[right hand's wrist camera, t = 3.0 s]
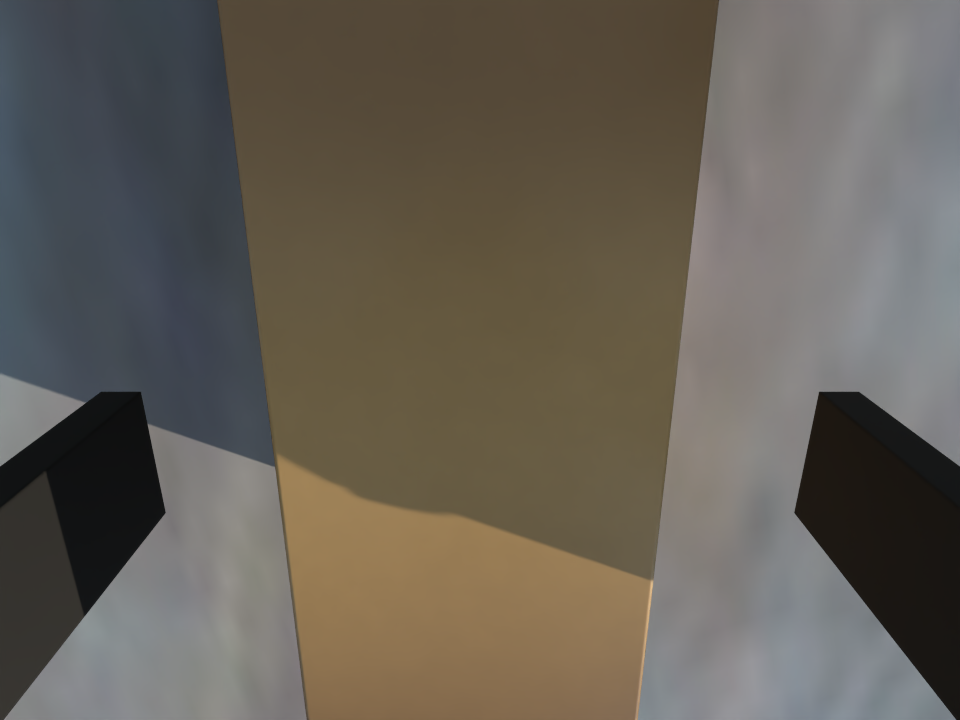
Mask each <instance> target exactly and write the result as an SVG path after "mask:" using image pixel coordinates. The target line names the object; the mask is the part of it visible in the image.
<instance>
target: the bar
mask: <svg viewBox="0 0 960 720" xmlns="http://www.w3.org/2000/svg"><path fill="white" fill-rule="evenodd" d="M217 4H218V12H219V20H220V28H221V36H222V44H223V52H224V60H225V68H226V76H227V84H228V92H229V100H230V108H231V116H232V124H233V132H234V140H235V148H236V156H237V164H238V172H239V180H240V188H241V196H242V204H243V212H244V220H245V228H246V236H247V244H248V252H249V260H250V268H251V276H252V284H253V292H254V300H255V308H256V317H257V325H258V333H259V341H260V349H261V357H262V365H263V373H264V381H265V389H266V397H267V405H268V413H269V421H270V429H271V437H272V445H273V453H274V461H275V469H276V477H277V485H278V493H279V501H280V509H281V517H282V525H283V533H284V541H285V549H286V557H287V565H288V573H289V581H290V589H291V597H292V605H293V613H294V621H295V629H296V637H297V645H298V653H299V661H300V669H301V677H302V685H303V693H304V701H305V709H306V717H307V720H638V711H639V702H640V693H641V684H642V675H643V667H644V658H645V649H646V640H647V631H648V622H649V614H650V605H651V596H652V587H653V578H654V569H655V561H656V552H657V543H658V534H659V525H660V516H661V508H662V499H663V490H664V481H665V472H666V464H667V455H668V446H669V437H670V428H671V419H672V411H673V402H674V393H675V384H676V375H677V366H678V358H679V349H680V340H681V331H682V322H683V313H684V305H685V296H686V287H687V278H688V269H689V261H690V252H691V243H692V234H693V225H694V216H695V208H696V199H697V190H698V181H699V172H700V163H701V155H702V146H703V137H704V128H705V119H706V110H707V102H708V93H709V84H710V75H711V66H712V57H713V49H714V40H715V31H716V22H717V13H718V5H719V0H217Z"/></svg>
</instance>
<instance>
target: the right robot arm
mask: <svg viewBox="0 0 960 720" xmlns="http://www.w3.org/2000/svg"><path fill="white" fill-rule="evenodd" d="M165 513H166V512H165V507H164V503H163V498H162V493H161V488H160V483H159V478H158V473H157V469H156V464H155V459H154V454H153V449H152V444H151V439H150V435H149V430H148V425H147V420H146V415H145V410H144V405H143V400H142V396H141V392H100V393H99V394H98V395H96V396H95V397H94V398H92V399H91V400H89V401H88V402H87V403H85V404H84V405H83V406H81V407H80V408H79V409H77V410H76V411H75V412H73V413H72V414H71V415H69V416H68V417H67V418H65V419H64V420H62V421H61V422H60V423H58V424H57V425H56V426H54V427H53V428H52V429H50V430H49V431H48V432H46V433H45V434H44V435H42V436H41V437H40V438H38V439H37V440H35V441H34V442H33V443H31V444H30V445H29V446H27V447H26V448H25V449H23V450H22V451H21V452H19V453H18V454H17V455H15V456H14V457H13V458H11V459H10V460H8V461H7V462H6V463H4V464H3V465H2V466H0V720H4V719H5V717H6V716H7V715H8V713H9V712H10V711H11V710H12V708H13V707H14V706H15V705H16V703H17V702H18V701H19V699H20V698H21V697H22V696H23V694H24V693H25V692H26V690H27V689H28V688H29V687H30V685H31V684H32V683H33V682H34V680H35V679H36V678H37V676H38V675H39V674H40V673H41V671H42V670H43V669H44V667H45V666H46V665H47V664H48V662H49V661H50V660H51V659H52V657H53V656H54V655H55V653H56V652H57V651H58V650H59V648H60V647H61V646H62V644H63V643H64V642H65V641H66V639H67V638H68V637H69V636H70V634H71V633H72V632H73V630H74V629H75V628H76V627H77V625H78V624H79V623H80V622H81V620H82V619H83V618H84V616H85V615H86V614H87V613H88V611H89V610H90V609H91V607H92V606H93V605H94V604H95V602H96V601H97V600H98V599H99V597H100V596H101V595H102V593H103V592H104V591H105V590H106V588H107V587H108V586H109V584H110V583H111V582H112V581H113V579H114V578H115V577H116V576H117V574H118V573H119V572H120V570H121V569H122V568H123V567H124V565H125V564H126V563H127V561H128V560H129V559H130V558H131V556H132V555H133V554H134V553H135V551H136V550H137V549H138V547H139V546H140V545H141V544H142V542H143V541H144V540H145V539H146V537H147V536H148V535H149V533H150V532H151V531H152V530H153V528H154V527H155V526H156V524H157V523H158V522H159V521H160V519H161V518H162V517H163V516H164V514H165ZM794 513H795V514H796V516H797V517H798V518H799V519H800V521H801V522H802V523H803V524H804V526H805V527H806V528H807V530H808V531H809V532H810V533H811V535H812V536H813V537H814V539H815V540H816V541H817V542H818V544H819V545H820V546H821V547H822V549H823V550H824V551H825V553H826V554H827V555H828V556H829V558H830V559H831V560H832V561H833V563H834V564H835V565H836V567H837V568H838V569H839V570H840V572H841V573H842V574H843V576H844V577H845V578H846V579H847V581H848V582H849V583H850V584H851V586H852V587H853V588H854V590H855V591H856V592H857V593H858V595H859V596H860V597H861V599H862V600H863V601H864V602H865V604H866V605H867V606H868V607H869V609H870V610H871V611H872V613H873V614H874V615H875V616H876V618H877V619H878V620H879V622H880V623H881V624H882V625H883V627H884V628H885V629H886V630H887V632H888V633H889V634H890V636H891V637H892V638H893V639H894V641H895V642H896V643H897V645H898V646H899V647H900V648H901V650H902V651H903V652H904V653H905V655H906V656H907V657H908V659H909V660H910V661H911V662H912V664H913V665H914V666H915V667H916V669H917V670H918V671H919V673H920V674H921V675H922V676H923V678H924V679H925V680H926V682H927V683H928V684H929V685H930V687H931V688H932V689H933V690H934V692H935V693H936V694H937V696H938V697H939V698H940V699H941V701H942V702H943V703H944V705H945V706H946V707H947V708H948V710H949V711H950V712H951V713H952V715H953V716H954V717H955V719H956V720H960V466H958V465H957V464H956V463H954V462H953V461H952V460H950V459H949V458H947V457H946V456H945V455H943V454H942V453H941V452H939V451H938V450H937V449H935V448H934V447H933V446H931V445H930V444H929V443H927V442H926V441H925V440H923V439H922V438H920V437H919V436H918V435H916V434H915V433H914V432H912V431H911V430H910V429H908V428H907V427H906V426H904V425H903V424H902V423H900V422H899V421H898V420H896V419H895V418H893V417H892V416H891V415H889V414H888V413H887V412H885V411H884V410H883V409H881V408H880V407H879V406H877V405H876V404H875V403H873V402H872V401H870V400H869V399H868V398H866V397H865V396H864V395H862V394H861V393H860V392H819V396H818V400H817V405H816V410H815V415H814V420H813V425H812V430H811V435H810V439H809V444H808V449H807V454H806V459H805V464H804V469H803V473H802V478H801V483H800V488H799V493H798V498H797V503H796V507H795V512H794Z"/></svg>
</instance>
